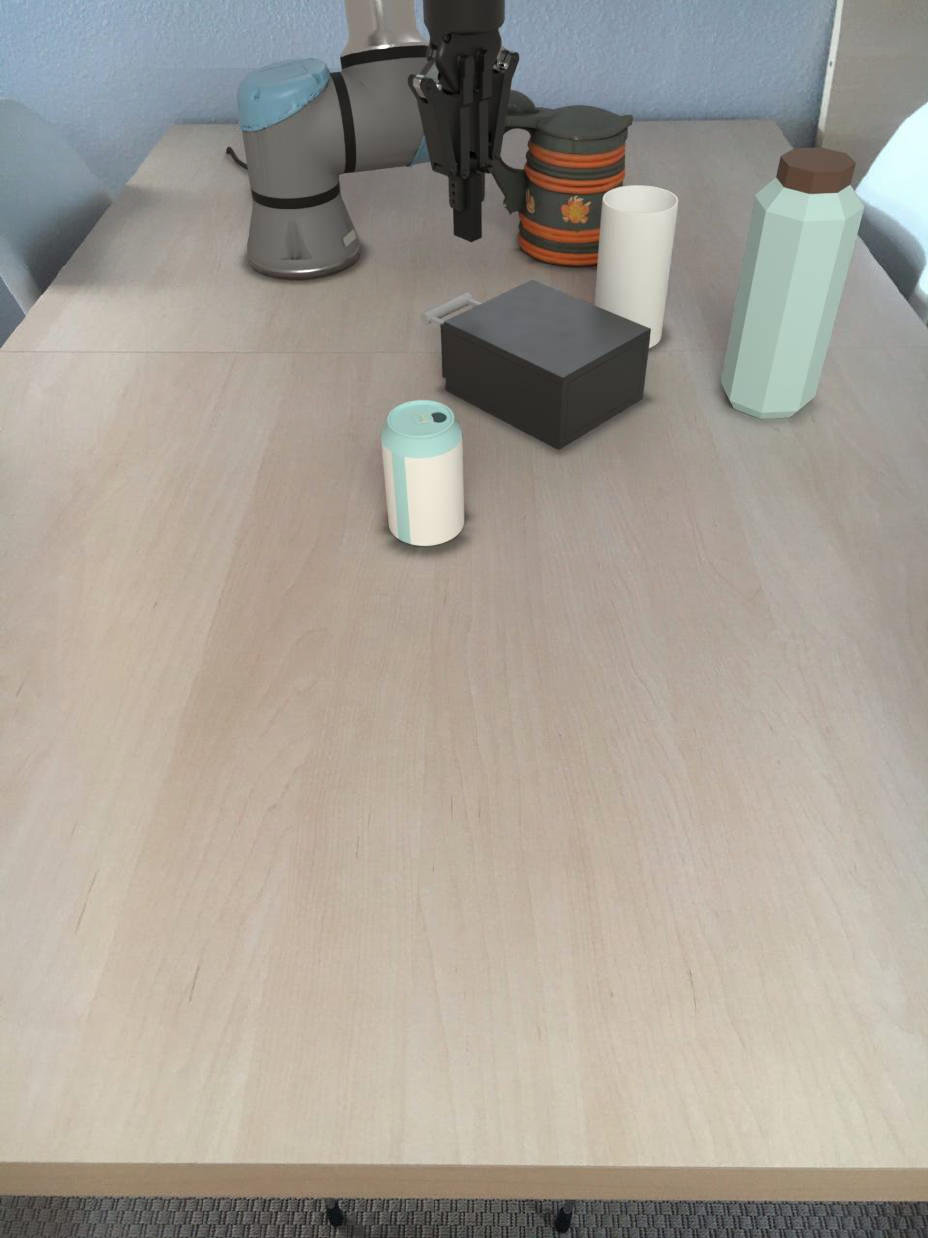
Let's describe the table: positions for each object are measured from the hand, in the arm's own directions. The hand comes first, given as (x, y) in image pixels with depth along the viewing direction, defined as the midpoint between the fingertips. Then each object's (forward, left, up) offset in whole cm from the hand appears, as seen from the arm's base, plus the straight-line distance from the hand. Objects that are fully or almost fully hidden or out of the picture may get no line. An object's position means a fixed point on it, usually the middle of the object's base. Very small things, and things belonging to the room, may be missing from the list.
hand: (467, 236), depth 105 cm
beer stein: (-13, +30, -15) cm, 36 cm away
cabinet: (+12, 0, -14) cm, 18 cm away
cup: (+10, +17, -15) cm, 24 cm away
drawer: (+7, 0, -13) cm, 15 cm away
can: (+20, -25, -15) cm, 35 cm away
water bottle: (+30, +16, -15) cm, 37 cm away
